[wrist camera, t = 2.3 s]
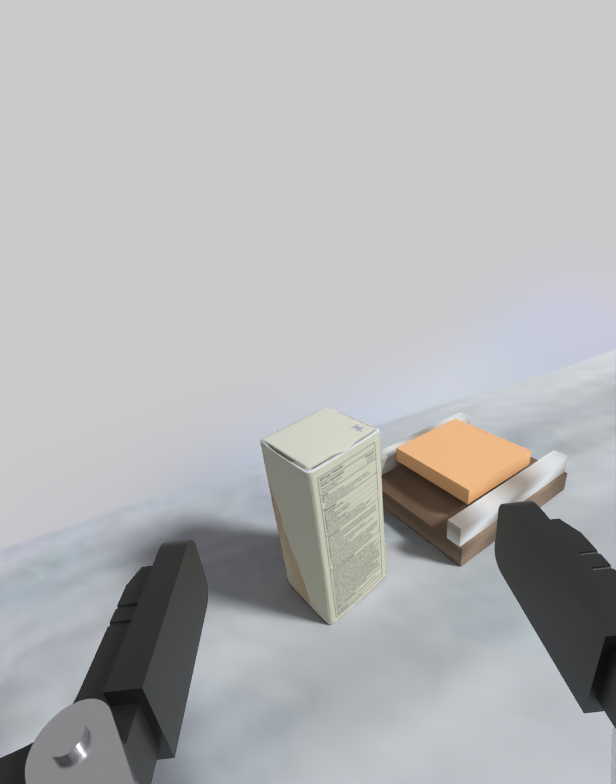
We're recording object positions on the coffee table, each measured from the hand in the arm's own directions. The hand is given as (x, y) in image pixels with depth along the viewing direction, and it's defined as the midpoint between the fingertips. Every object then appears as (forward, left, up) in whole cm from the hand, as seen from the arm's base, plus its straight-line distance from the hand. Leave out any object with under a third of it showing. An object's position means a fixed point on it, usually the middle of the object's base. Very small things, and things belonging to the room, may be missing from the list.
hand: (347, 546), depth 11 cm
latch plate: (+18, +10, -11) cm, 23 cm away
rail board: (+18, +10, -14) cm, 25 cm away
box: (+5, +9, -14) cm, 17 cm away
